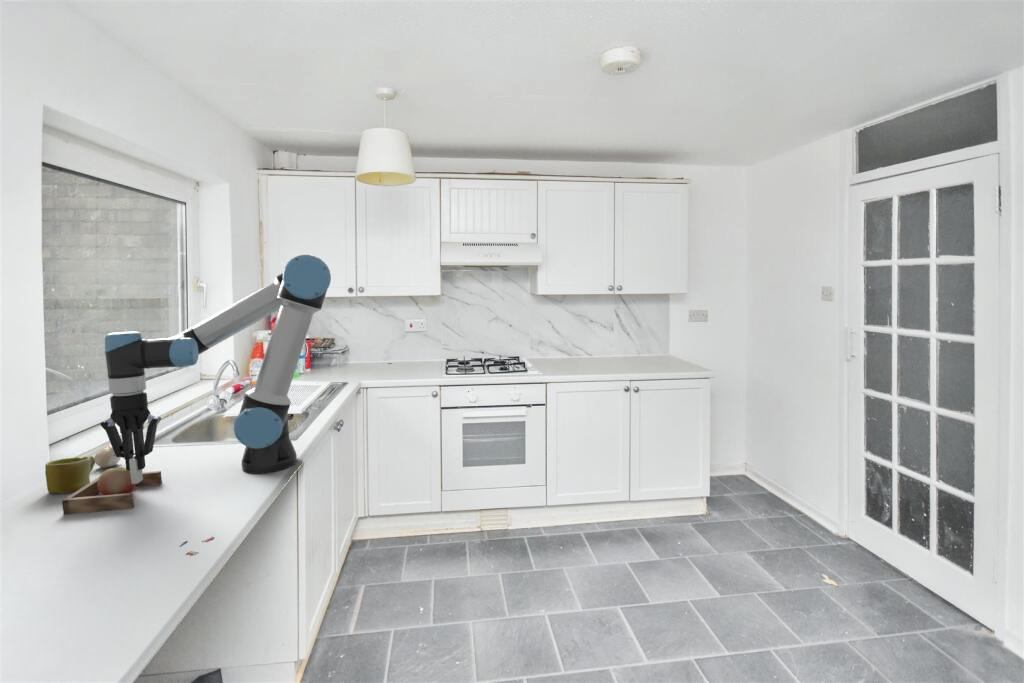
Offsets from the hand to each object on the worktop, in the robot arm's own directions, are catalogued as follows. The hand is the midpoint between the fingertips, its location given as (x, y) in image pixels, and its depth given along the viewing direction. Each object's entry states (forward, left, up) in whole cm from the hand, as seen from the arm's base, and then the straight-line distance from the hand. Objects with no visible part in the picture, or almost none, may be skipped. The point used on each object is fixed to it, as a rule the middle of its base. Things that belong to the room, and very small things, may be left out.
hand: (137, 481), depth 132 cm
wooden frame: (+5, 0, -4) cm, 6 cm away
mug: (+20, -11, -4) cm, 23 cm away
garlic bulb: (+20, -27, -4) cm, 34 cm away
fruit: (+5, 0, -4) cm, 6 cm away
